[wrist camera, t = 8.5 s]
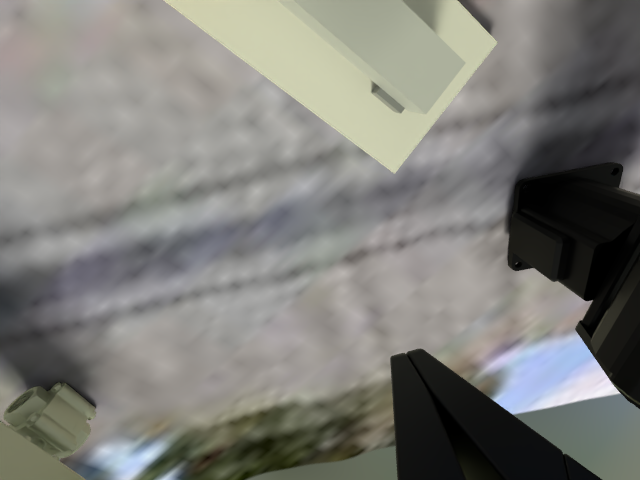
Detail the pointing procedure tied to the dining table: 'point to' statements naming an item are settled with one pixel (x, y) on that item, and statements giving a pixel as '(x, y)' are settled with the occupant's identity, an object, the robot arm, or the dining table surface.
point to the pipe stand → (356, 60)
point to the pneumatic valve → (43, 433)
